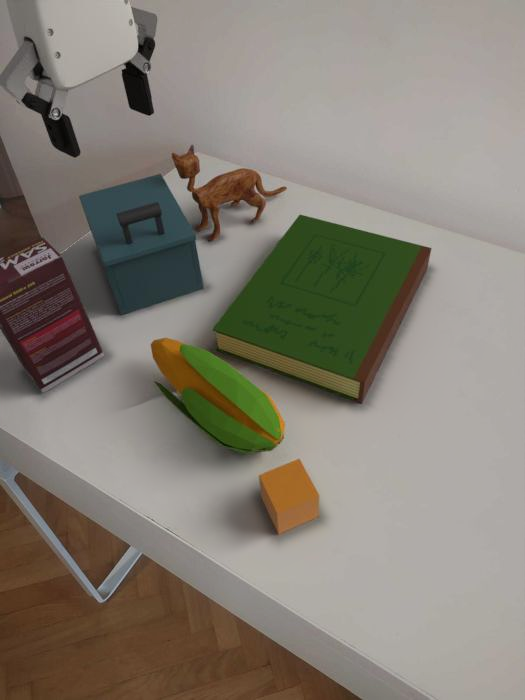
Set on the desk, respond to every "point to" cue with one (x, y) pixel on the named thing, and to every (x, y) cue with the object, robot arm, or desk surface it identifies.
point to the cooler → (154, 276)
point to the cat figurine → (222, 189)
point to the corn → (218, 398)
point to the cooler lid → (135, 219)
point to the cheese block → (289, 496)
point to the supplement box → (45, 315)
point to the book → (325, 305)
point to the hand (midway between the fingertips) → (106, 131)
